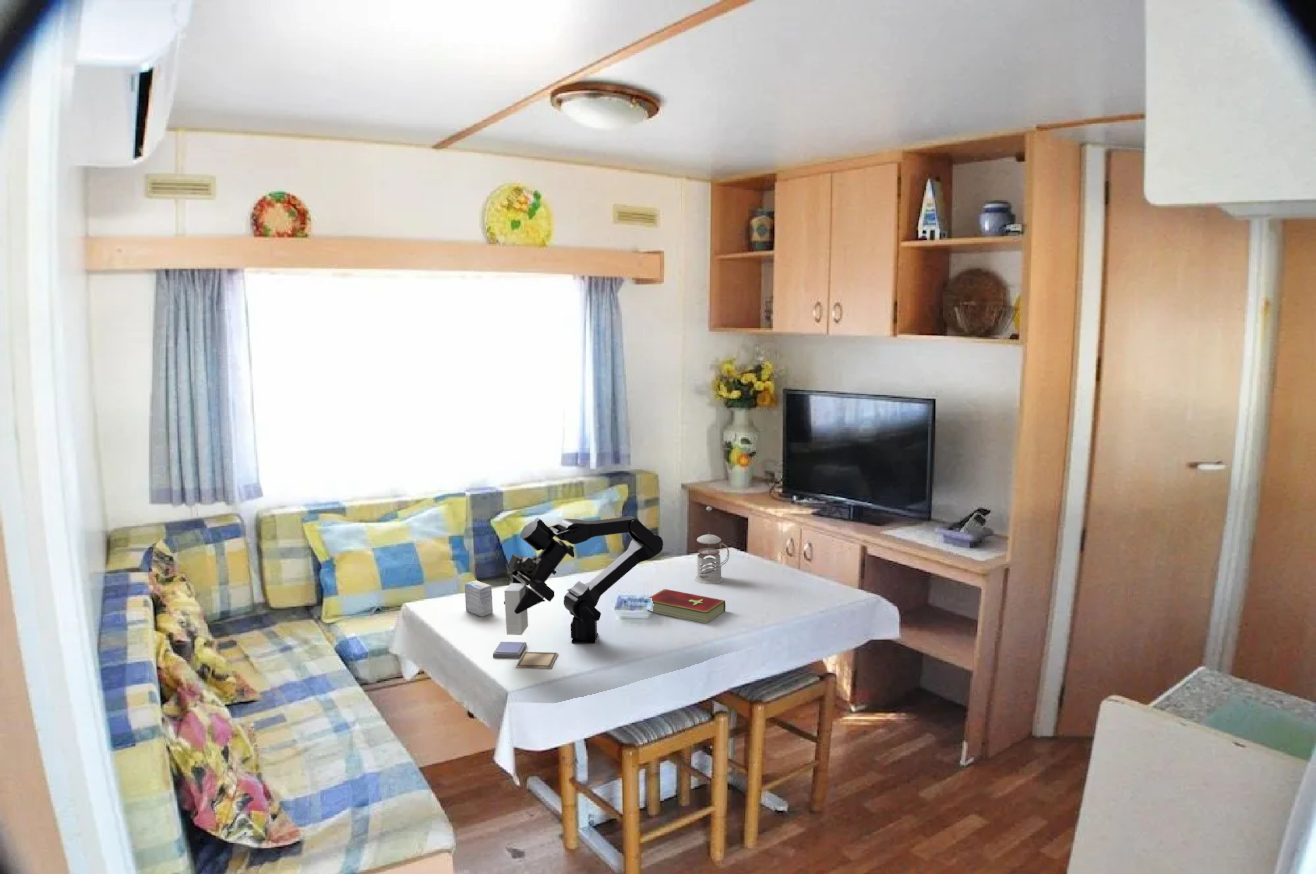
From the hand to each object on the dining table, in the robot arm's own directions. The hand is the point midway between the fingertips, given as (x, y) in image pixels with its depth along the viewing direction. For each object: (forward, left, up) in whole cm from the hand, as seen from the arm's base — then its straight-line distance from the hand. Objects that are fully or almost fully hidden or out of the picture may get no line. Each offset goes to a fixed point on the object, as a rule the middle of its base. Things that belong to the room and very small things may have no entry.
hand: (510, 608), depth 218 cm
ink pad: (+1, -3, -13) cm, 13 cm away
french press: (-51, -66, -13) cm, 85 cm away
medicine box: (+18, -31, -13) cm, 38 cm away
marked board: (-7, +3, -13) cm, 15 cm away
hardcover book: (-44, -36, -13) cm, 58 cm away
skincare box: (-1, -1, -7) cm, 7 cm away
